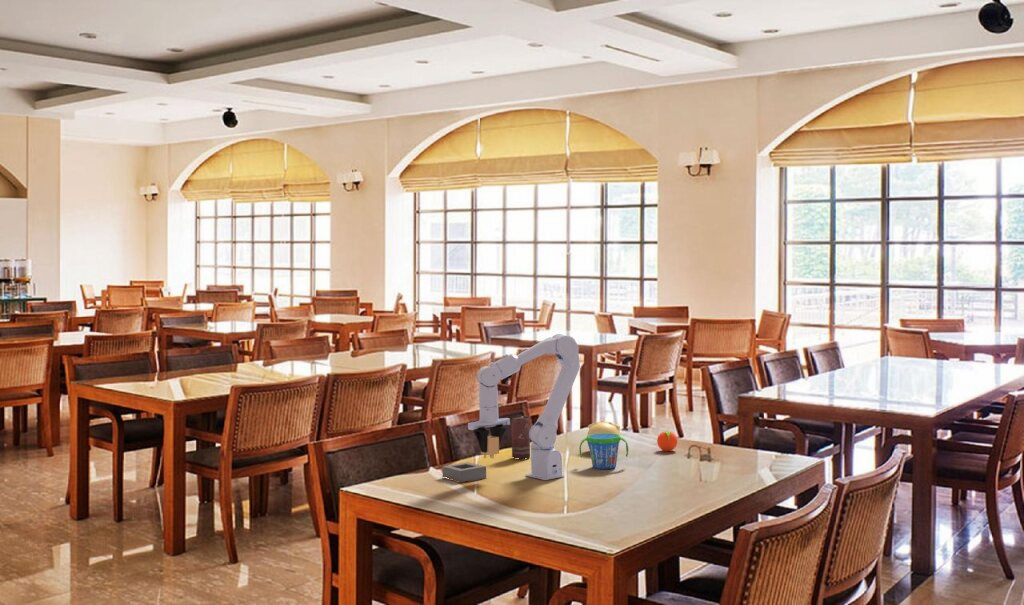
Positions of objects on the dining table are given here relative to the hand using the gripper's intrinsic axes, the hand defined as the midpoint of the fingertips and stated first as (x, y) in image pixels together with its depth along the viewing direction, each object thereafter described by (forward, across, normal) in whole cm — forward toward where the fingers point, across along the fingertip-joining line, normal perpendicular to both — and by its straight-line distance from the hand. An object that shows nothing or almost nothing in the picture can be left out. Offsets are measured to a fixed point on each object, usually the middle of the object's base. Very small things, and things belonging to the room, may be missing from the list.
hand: (489, 451), depth 300 cm
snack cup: (+9, -38, +10) cm, 40 cm away
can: (+9, -29, -21) cm, 37 cm away
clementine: (+9, -73, +5) cm, 74 cm away
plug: (+2, 0, 0) cm, 2 cm away
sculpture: (+9, -57, -10) cm, 59 cm away
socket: (+9, +4, -8) cm, 13 cm away
